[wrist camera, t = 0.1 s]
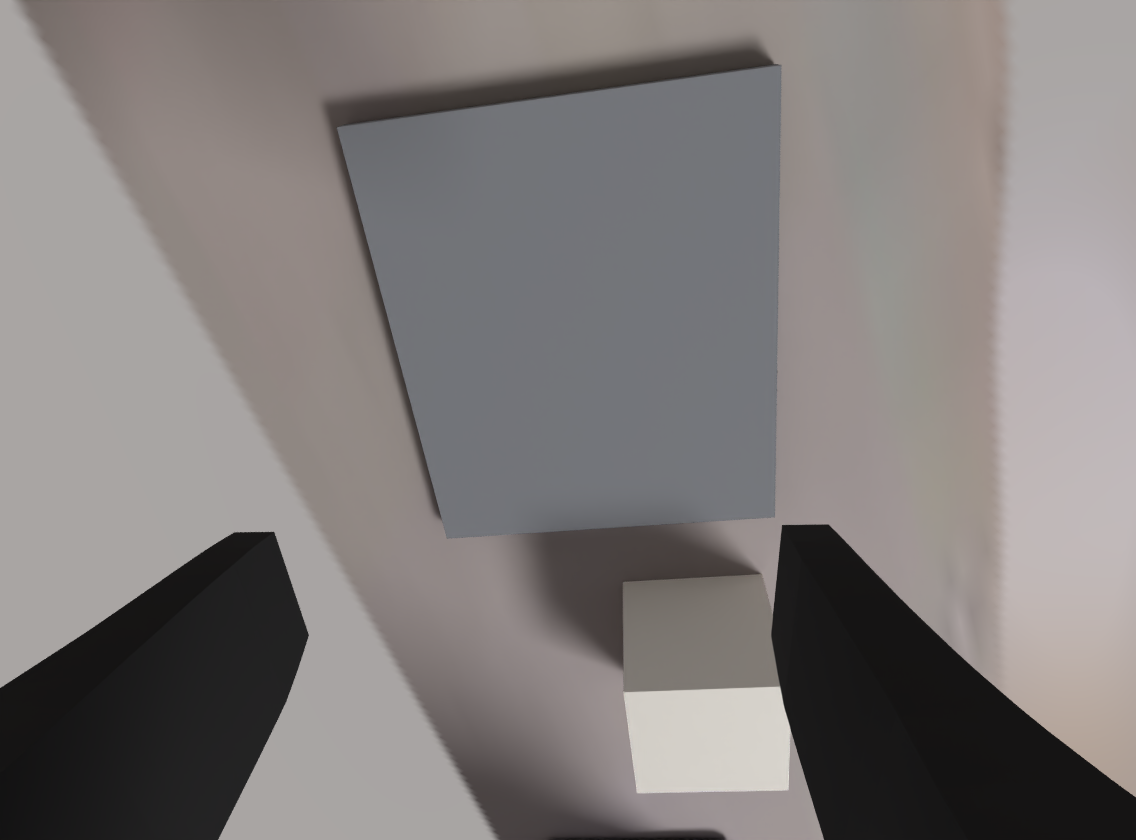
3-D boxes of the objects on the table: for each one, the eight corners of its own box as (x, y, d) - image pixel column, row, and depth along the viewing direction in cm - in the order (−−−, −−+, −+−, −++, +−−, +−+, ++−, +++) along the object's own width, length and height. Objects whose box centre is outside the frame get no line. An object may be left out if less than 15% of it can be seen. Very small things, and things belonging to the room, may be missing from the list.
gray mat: (770, 505, 21) (775, 517, 21) (450, 526, 22) (446, 538, 22) (775, 64, 15) (781, 65, 15) (345, 124, 17) (336, 127, 16)
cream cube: (761, 669, 25) (788, 790, 21) (634, 674, 25) (637, 793, 21) (761, 572, 22) (791, 685, 19) (622, 580, 23) (623, 692, 19)
